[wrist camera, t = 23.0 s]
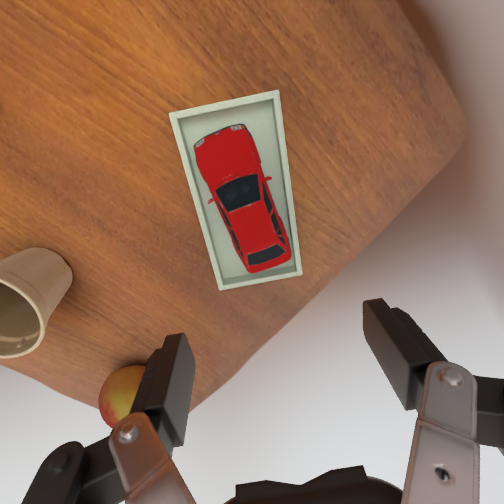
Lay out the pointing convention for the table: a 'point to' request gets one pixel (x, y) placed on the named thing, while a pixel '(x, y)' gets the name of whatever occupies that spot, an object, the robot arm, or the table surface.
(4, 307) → the flower pot
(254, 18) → the table surface
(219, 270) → the tray
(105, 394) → the apple
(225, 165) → the toy car
